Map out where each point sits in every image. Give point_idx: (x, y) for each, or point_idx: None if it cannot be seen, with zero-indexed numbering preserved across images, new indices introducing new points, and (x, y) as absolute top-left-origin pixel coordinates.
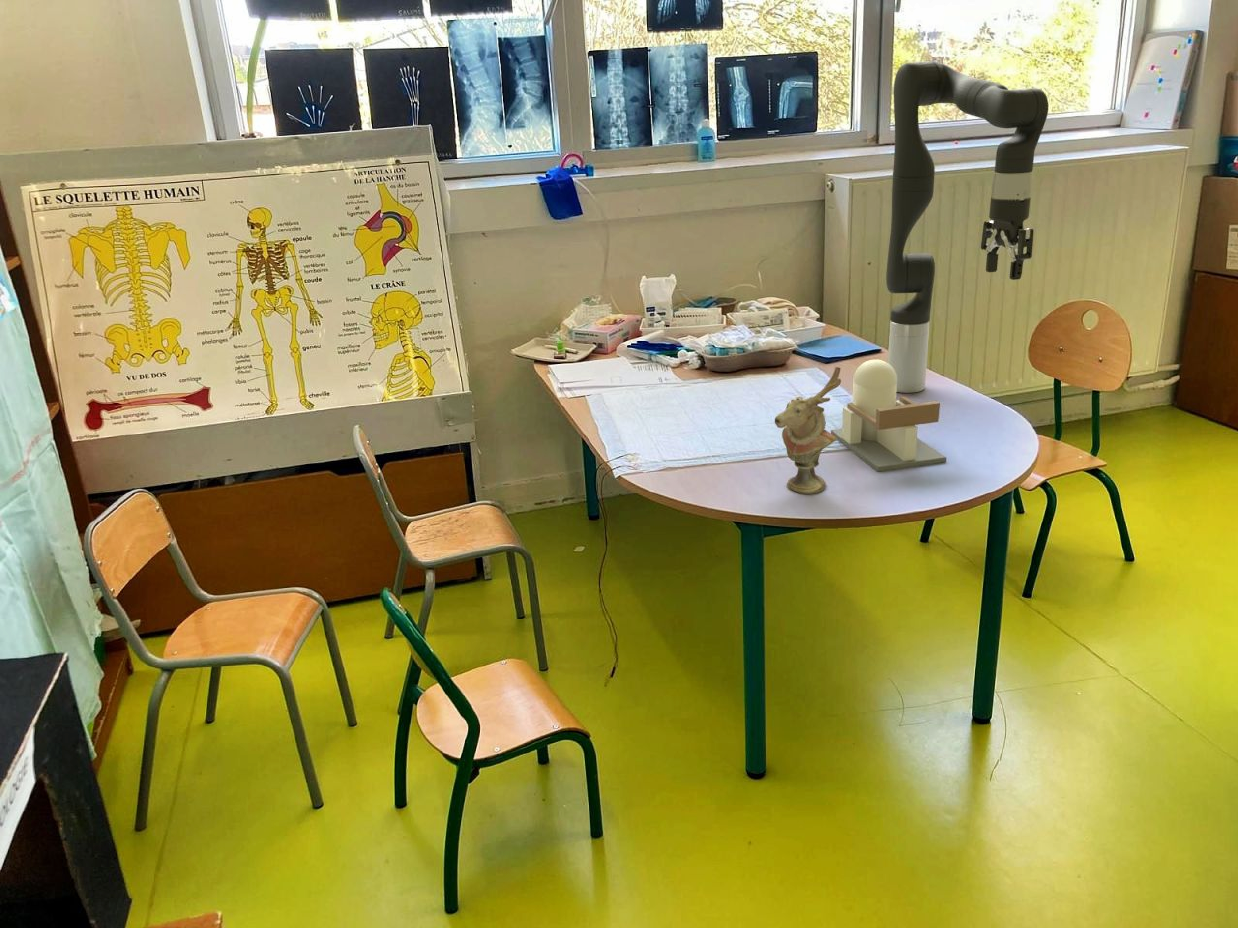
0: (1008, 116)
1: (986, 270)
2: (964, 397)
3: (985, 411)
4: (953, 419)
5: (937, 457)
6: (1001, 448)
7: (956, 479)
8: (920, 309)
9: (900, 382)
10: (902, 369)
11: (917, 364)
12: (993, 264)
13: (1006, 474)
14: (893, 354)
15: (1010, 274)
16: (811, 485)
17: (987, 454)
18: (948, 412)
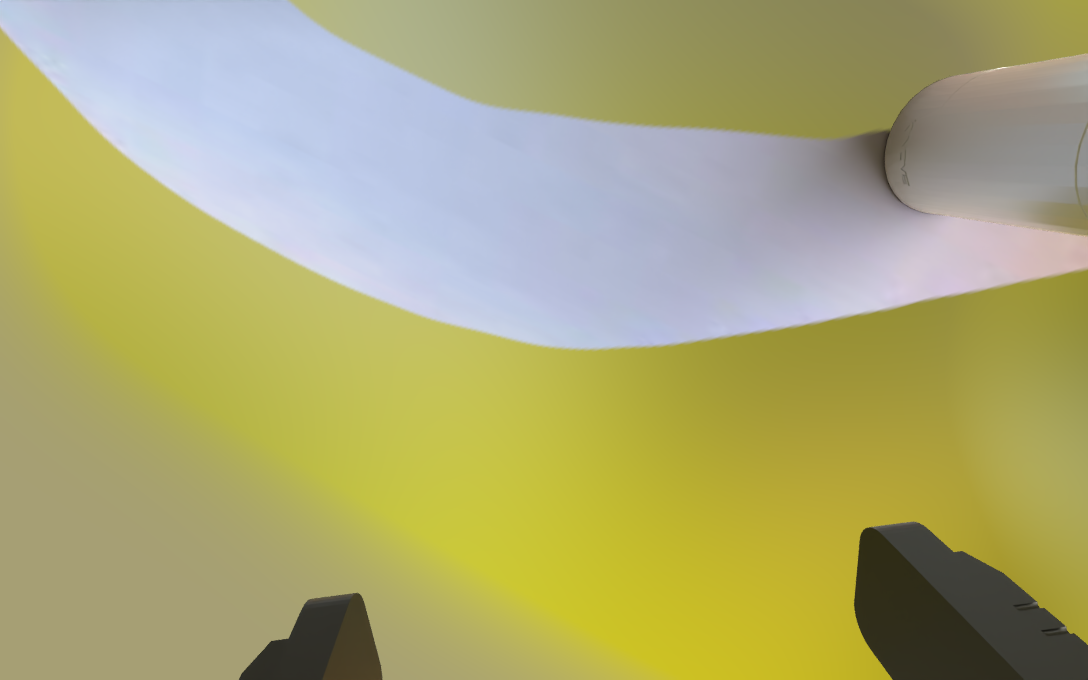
0: None
1: (908, 527)
2: (778, 291)
3: (640, 295)
4: (602, 168)
5: None
6: (327, 197)
7: None
8: None
9: (935, 98)
10: (972, 98)
11: (961, 158)
12: (926, 664)
13: (112, 111)
14: (1069, 58)
15: (322, 639)
16: None
17: (282, 132)
18: (668, 181)
